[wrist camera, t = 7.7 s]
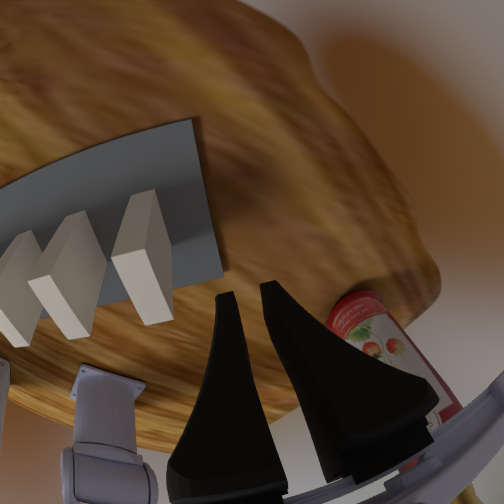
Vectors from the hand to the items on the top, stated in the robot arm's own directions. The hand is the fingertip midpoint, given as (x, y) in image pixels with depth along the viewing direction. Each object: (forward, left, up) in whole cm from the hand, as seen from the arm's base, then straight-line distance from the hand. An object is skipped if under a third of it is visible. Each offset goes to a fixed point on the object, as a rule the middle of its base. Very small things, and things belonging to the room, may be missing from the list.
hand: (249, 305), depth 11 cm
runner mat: (-10, +10, -10) cm, 18 cm away
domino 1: (-10, +10, -9) cm, 17 cm away
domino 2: (-7, +7, -9) cm, 13 cm away
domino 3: (-3, +3, -9) cm, 10 cm away
